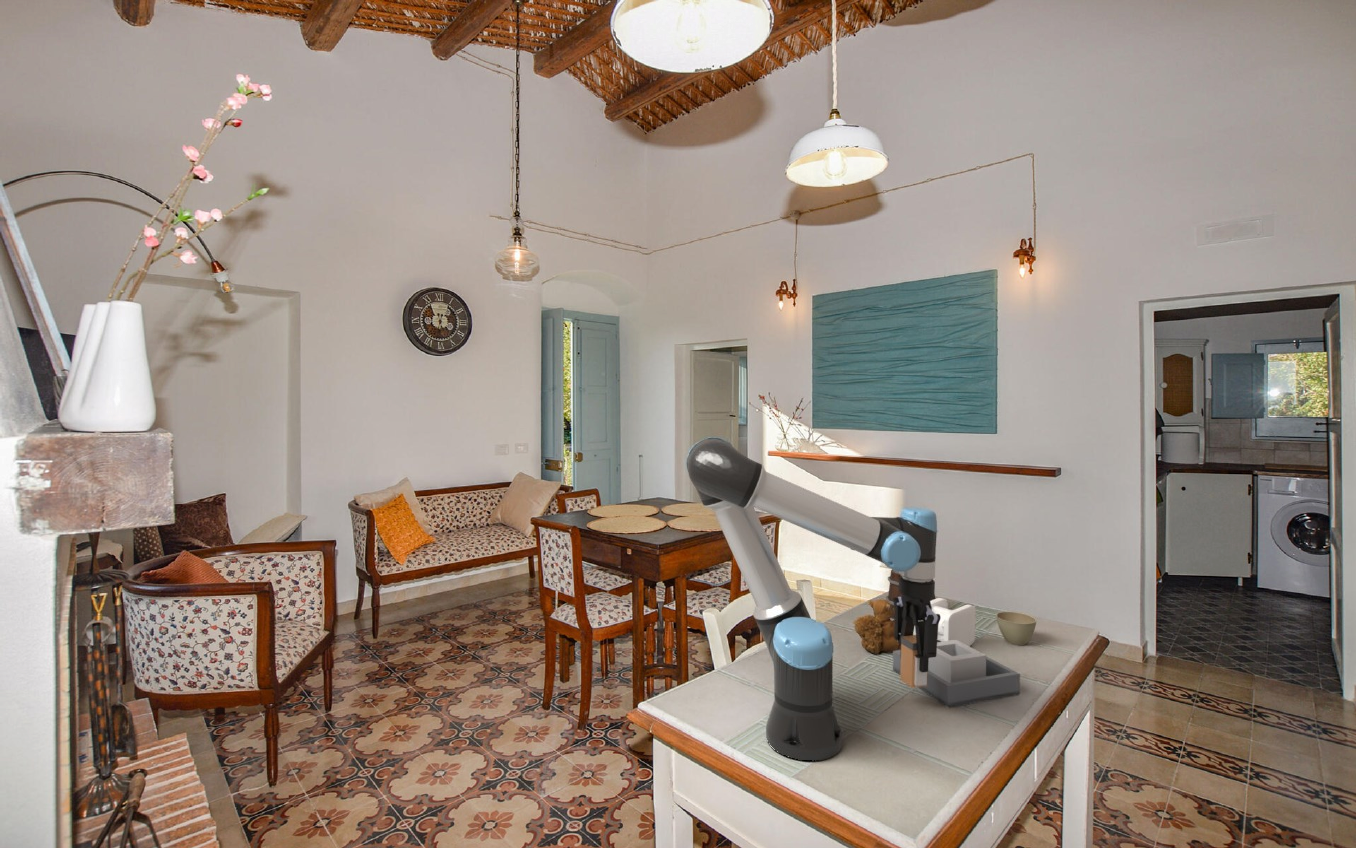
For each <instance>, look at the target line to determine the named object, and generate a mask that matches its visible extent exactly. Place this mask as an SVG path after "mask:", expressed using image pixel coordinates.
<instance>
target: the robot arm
mask: <svg viewBox="0 0 1356 848" xmlns="http://www.w3.org/2000/svg"><path fill="white" fill-rule="evenodd" d="M685 465H686V470H687V473H688V478H689V479H690V481H691V483H692V485H693V487H694V488H695V490H696V491H697V494H698V496H699V499H700V500H701V502H702V503H701V504H702V505H703V508H704V507H705V508H707V509H709V510H711V511H713V513H714V516H715V518H716V519H717V522H718V524H719V527H720V529H721V531H722V533H723V535H724V537H725V540H726V541H727V544H728V547H729V548H730V551H731V553H732V555H733V557H734V559H735V562H736V564H737V566H738V569H739V570H740V573H741V574H742V577H743V579H744V581H745V583H746V586H747V588H748V590H749V593H750V595H751V597H752V599H753V602H754V604H755V607H754V609H753V612H752V615H753V617H754V619H755V622H756V625H757V627H758V629H759V631H760V633H761V636H762V639H763V641H764V643H765V644H766V646H767V649H768V652H769V655H770V658H771V661H772V663H773V671H774V672H773V674H774V675H773V679H774V681H773V683H774V688H773V689H774V695H773V696H774V701H773V704H772V706H771V710H770V712H769V716H768V719H767V721H766V726H765V739H766V738H767V740H768V742H769V743H770V745H771V746H772V747H773V748H774V749H775V750H776V751H778V752H779V753H781V754H782V756H783V755H786V756H789V757H791V758H790V759H792V758H795V759H794V760H796V759H798V760H797V761H802V760H812V761H811V762H817V761H816V760H819V761H824V760H828V759H830V758H832V757H834V756H836V755H837V754H838V753H839V752H840V751H841V749H842V746H843V745H842V743H843V742H842V741H843V739H842V734H843V733H842V729H841V727H840V723H839V721H838V718H837V715H836V712H835V709H834V705H833V695H834V693H833V692H834V691H833V687H834V686H833V683H834V682H833V680H834V679H833V673H834V671H833V657H834V655H833V654H834V643H833V638H832V633H831V631H830V629H829V628H828V627H827V626H826V625H825V624H824V623H822V622H821V621H816V619H814V618H812V617H811V616H810V613H809V610H808V608H807V606H806V604H805V602H804V599H803V597H802V595H801V594H800V593H799V592H797V591H795V590H793V589H791V587H790V585H789V583H788V581H787V578H786V575H785V574H784V572H783V568H782V567H781V565H780V562H779V560H778V558H777V556H776V554H775V552H774V549H773V547H772V545H771V543H770V540H769V538H768V536H767V533H766V531H765V530H764V527H763V525H762V523H761V521H760V518H759V516H758V514H757V512H756V509H757V510H760V511H762V512H763V513H767V514H769V515H771V516H774V517H776V518H778V519H780V520H783V521H786V522H788V523H790V524H792V525H794V526H797V527H799V528H802V529H804V530H806V531H809V532H811V533H814V534H816V535H818V536H820V537H822V538H824V539H828V540H830V541H832V542H834V543H837V544H839V545H841V546H844V547H846V548H848V549H850V550H851V551H856V552H858V553H860V554H863V555H864V556H866V557H868V558H870V559H873V560H875V561H878V562H881V563H882V564H884V565H885V566H886V567H887V568H889V569H891V570H892V569H893V570H896V571H899V574H900V575H901V576H900V577H899V592H900V594H902V596H901V597H894V598H893V602H894V607H895V617H894V619H893V620H894V638H895V640H897V641H898V642H899V644H900V646H901V636H911V635H914V626H915V631H916V641H917V652H918V654H917V655H915V671H914V685H916V686H919V685H927V672H928V662H929V658H932V657H936V653H937V642H938V640H937V637H938V624H939V621H940V619H941V616H940V615H939V614H935V613H934V612H933V611H932V607H931V603H930V600H931V599H932V597H934V593H935V592H936V591H935V590H936V589H935V588H936V587H935V586H936V584H935V582H936V581H935V580H934V579H935V577H936V560H937V559H936V552H937V536H938V535H937V534H938V519H937V514H936V512H935V511H934V510H931V509H930V508H922V507H916V506H915V507H914V506H913V507H912V506H911V507H904V508H902V509H901V513H900V515H899V516H897V517H886V516H885V517H884V516H883V517H881V516H879V517H878V516H869V515H866V514H864V513H862V512H859V511H857V510H855V509H853V508H851V507H848V506H845V505H843V504H841V503H839V502H836V501H834V500H832V499H830V498H827V497H825V496H823V495H821V494H819V493H815V492H814V491H811V490H809V489H806V488H804V487H801V486H800V485H797V484H795V483H794V482H790V481H789V480H786V479H783V478H782V477H779V476H777V475H774V474H772V473H770V472H767V471H766V469H765V467H764V465H763V464H762V463H759V462H757V461H755V460H752V459H751V458H749V457H747V456H746V455H745V454H742V452H740V451H739V450H737V449H736V448H735V447H734V446H733V444H731V442H729V441H728V440H726V439H724V438H721V437H717V436H716V437H715V436H710V437H706V438H704V439H701V440H699V441H698V442H695V444H693V446H692V447H691V448H690V450H689V452H688V454H687V456H686V463H685ZM935 594H936V593H935ZM921 620H923V621H921ZM900 657H901V653H900ZM767 740H766V741H767ZM768 742H767V743H768ZM770 745H769V746H770ZM774 749H773V750H774ZM775 750H774V751H775ZM776 751H775V752H776ZM778 752H777V753H778ZM779 753H778V754H779ZM781 754H780V755H781ZM786 756H785V757H786ZM789 757H788V758H789ZM814 760H815V761H814Z"/></svg>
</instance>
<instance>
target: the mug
mask: <svg viewBox="0 0 1356 848" xmlns="http://www.w3.org/2000/svg"><path fill="white" fill-rule="evenodd" d="M889 575H890V576H888V577H887V581H888V582H889V587H888V588H889V589H888V595H886V597H885V600H886V601H888V602H889V603H890V604H891V606H892V607H893V608H894V609H895V607H894V602H893V598H894V597H901V596H902V594H900V592H899V577H900V576H901V575H900V574H899V571H896V570H893V569H891V570H890V574H889ZM934 599H936V593H934V597H932V599H931V600H930V601H932V600H934ZM894 612H895V610H894V611H893V609H892V615H891V617H890V619H892V620H894V617H895V614H894Z"/></svg>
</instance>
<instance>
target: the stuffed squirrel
mask: <svg viewBox="0 0 1356 848" xmlns="http://www.w3.org/2000/svg"><path fill="white" fill-rule="evenodd" d="M868 604H869V605H870V607H871V609H872V610H873V615H872V614H865V615H863V616H860V617H859V616H858V617H856V619H855V620H854V621H853V622H852V624H853V625H854V626H853V628H854V631H855V633H856V634H857V635H858V636H859V637H860V639H861V646H862V647H863V649H865V650H866V651H867V652H870V653H871V654H875V655H877V654H879V653H880V652H884V653H885V652H886V653H888V652H889V653H893V651H897V650H901V646H900V644H899V641H898V640H895V638H894V619H891V615H892V609H893V611H894V610H895V609H894V608H893V607H892V606H891V604H890V603H889V602H888V601H887V600H886V599H876V600H875V601H873V600H871V599H870V600H868ZM894 614H895V612H894Z"/></svg>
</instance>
